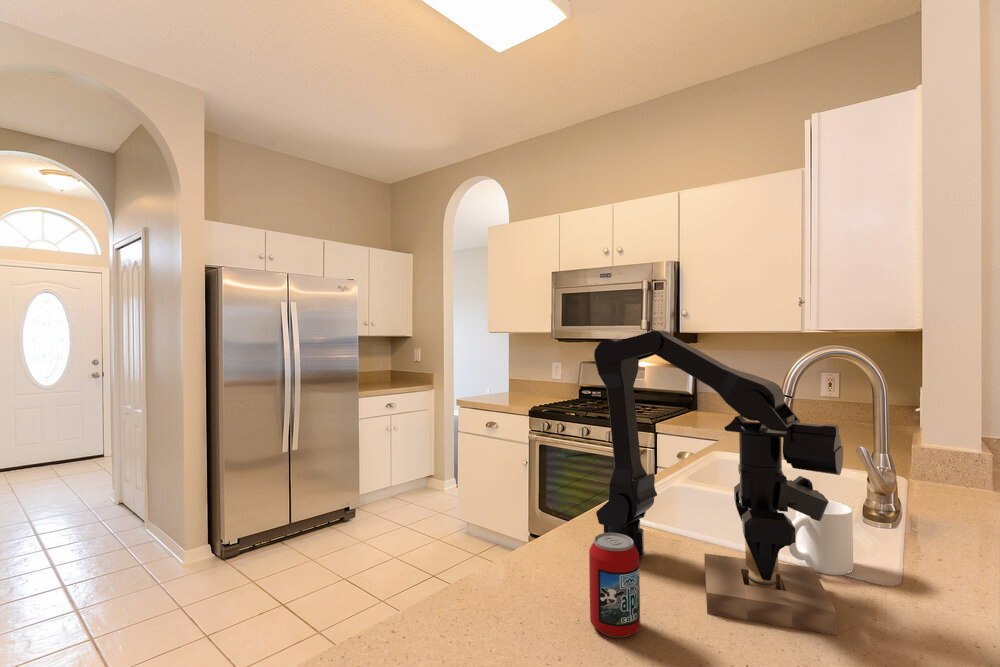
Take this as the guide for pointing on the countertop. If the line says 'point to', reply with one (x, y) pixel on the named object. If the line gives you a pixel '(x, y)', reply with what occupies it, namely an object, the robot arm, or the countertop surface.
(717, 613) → the board
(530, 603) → the countertop surface
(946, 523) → the countertop surface
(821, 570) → the mug
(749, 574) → the peg
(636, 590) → the beverage can
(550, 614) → the countertop surface
